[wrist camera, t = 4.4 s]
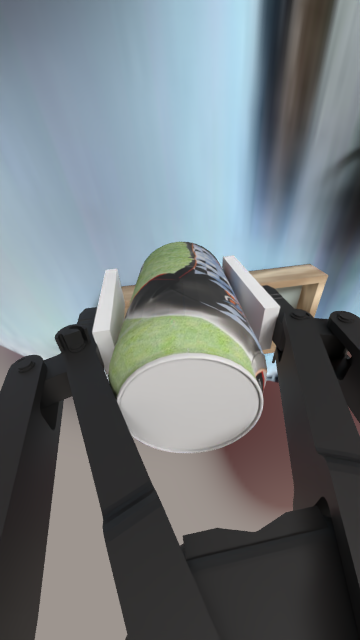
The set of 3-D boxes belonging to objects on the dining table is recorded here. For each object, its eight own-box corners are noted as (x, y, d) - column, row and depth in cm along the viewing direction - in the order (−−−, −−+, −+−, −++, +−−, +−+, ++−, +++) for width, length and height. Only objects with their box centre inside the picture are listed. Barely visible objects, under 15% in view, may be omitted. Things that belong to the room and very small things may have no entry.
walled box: (103, 288, 32) (99, 303, 29) (310, 264, 35) (327, 275, 32) (121, 358, 40) (120, 376, 37) (291, 332, 43) (303, 347, 40)
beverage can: (200, 317, 20) (260, 468, 11) (112, 300, 18) (89, 473, 9) (232, 247, 17) (357, 375, 8) (129, 215, 15) (124, 342, 5)
